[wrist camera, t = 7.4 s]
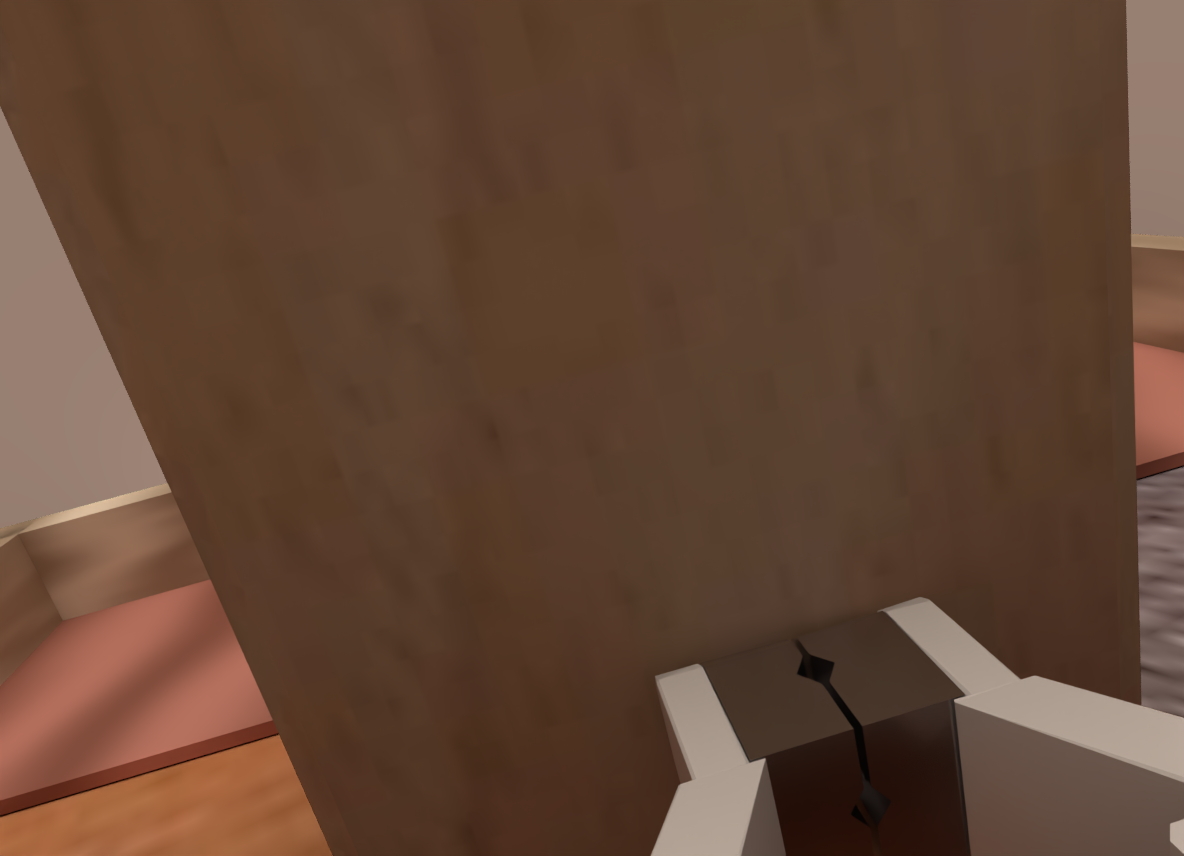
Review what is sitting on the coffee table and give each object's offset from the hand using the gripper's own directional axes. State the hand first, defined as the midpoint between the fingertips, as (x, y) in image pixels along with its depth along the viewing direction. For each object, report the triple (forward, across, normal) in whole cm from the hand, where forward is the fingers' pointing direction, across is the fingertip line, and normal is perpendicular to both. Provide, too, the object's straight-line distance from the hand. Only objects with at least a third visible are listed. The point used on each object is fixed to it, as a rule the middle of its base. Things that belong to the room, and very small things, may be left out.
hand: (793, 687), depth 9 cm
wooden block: (+5, 0, +6) cm, 8 cm away
